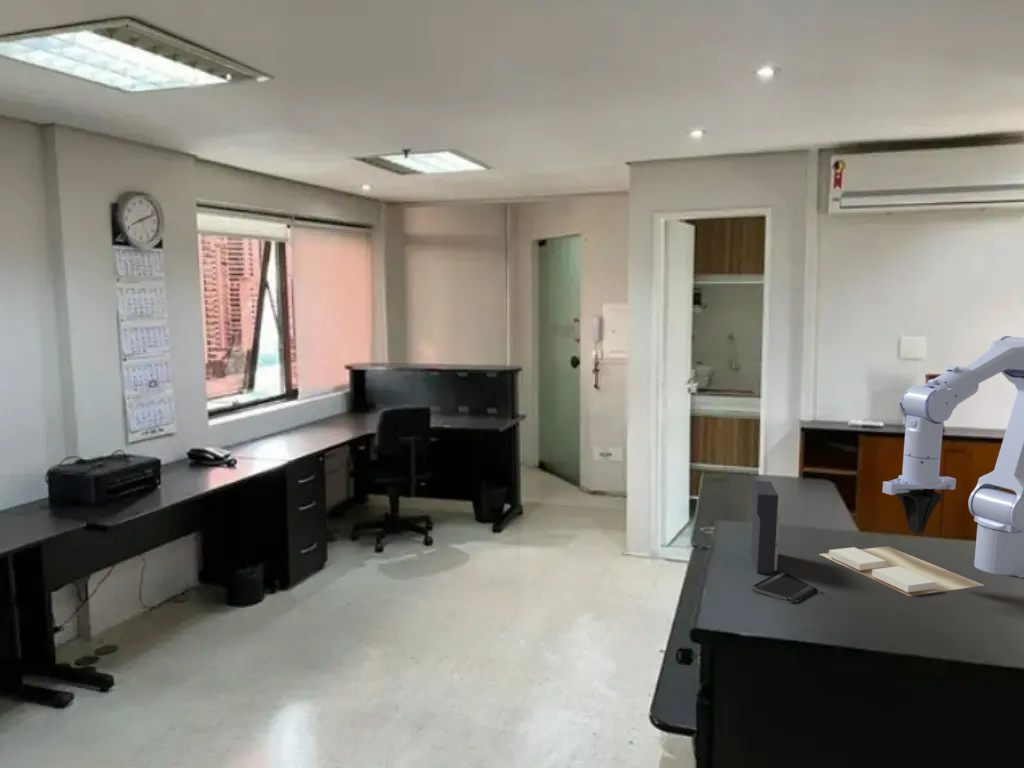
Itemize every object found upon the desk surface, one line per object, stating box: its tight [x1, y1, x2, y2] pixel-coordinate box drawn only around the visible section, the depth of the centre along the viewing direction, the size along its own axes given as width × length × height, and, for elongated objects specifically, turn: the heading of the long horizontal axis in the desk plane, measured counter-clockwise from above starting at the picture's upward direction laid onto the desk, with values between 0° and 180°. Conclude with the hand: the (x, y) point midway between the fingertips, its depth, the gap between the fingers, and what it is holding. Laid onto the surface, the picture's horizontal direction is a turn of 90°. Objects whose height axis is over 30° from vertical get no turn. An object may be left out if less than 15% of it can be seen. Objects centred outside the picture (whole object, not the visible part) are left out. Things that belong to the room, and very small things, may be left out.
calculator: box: [750, 480, 781, 575], centre depth 146 cm, size 11×4×15 cm, turn 168°
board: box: [818, 545, 985, 597], centre depth 144 cm, size 17×22×1 cm
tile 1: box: [828, 547, 886, 571], centre depth 146 cm, size 2×8×6 cm
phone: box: [752, 570, 819, 602], centre depth 136 cm, size 8×1×15 cm
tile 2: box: [872, 566, 936, 593], centre depth 136 cm, size 2×8×6 cm
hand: (916, 531), depth 136 cm, fingers closed
